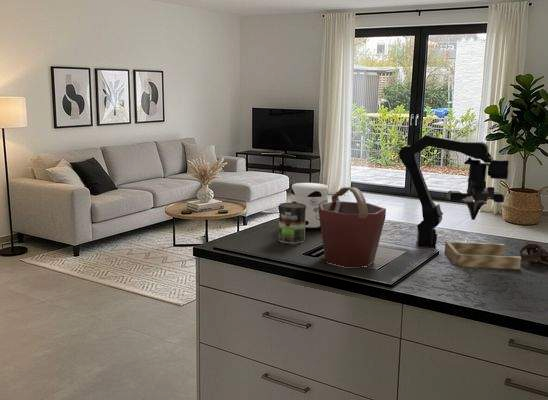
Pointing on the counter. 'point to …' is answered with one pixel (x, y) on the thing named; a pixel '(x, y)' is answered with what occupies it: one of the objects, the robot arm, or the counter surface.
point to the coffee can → (292, 222)
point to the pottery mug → (533, 253)
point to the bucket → (350, 229)
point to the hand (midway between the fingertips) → (473, 219)
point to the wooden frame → (464, 258)
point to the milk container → (310, 201)
